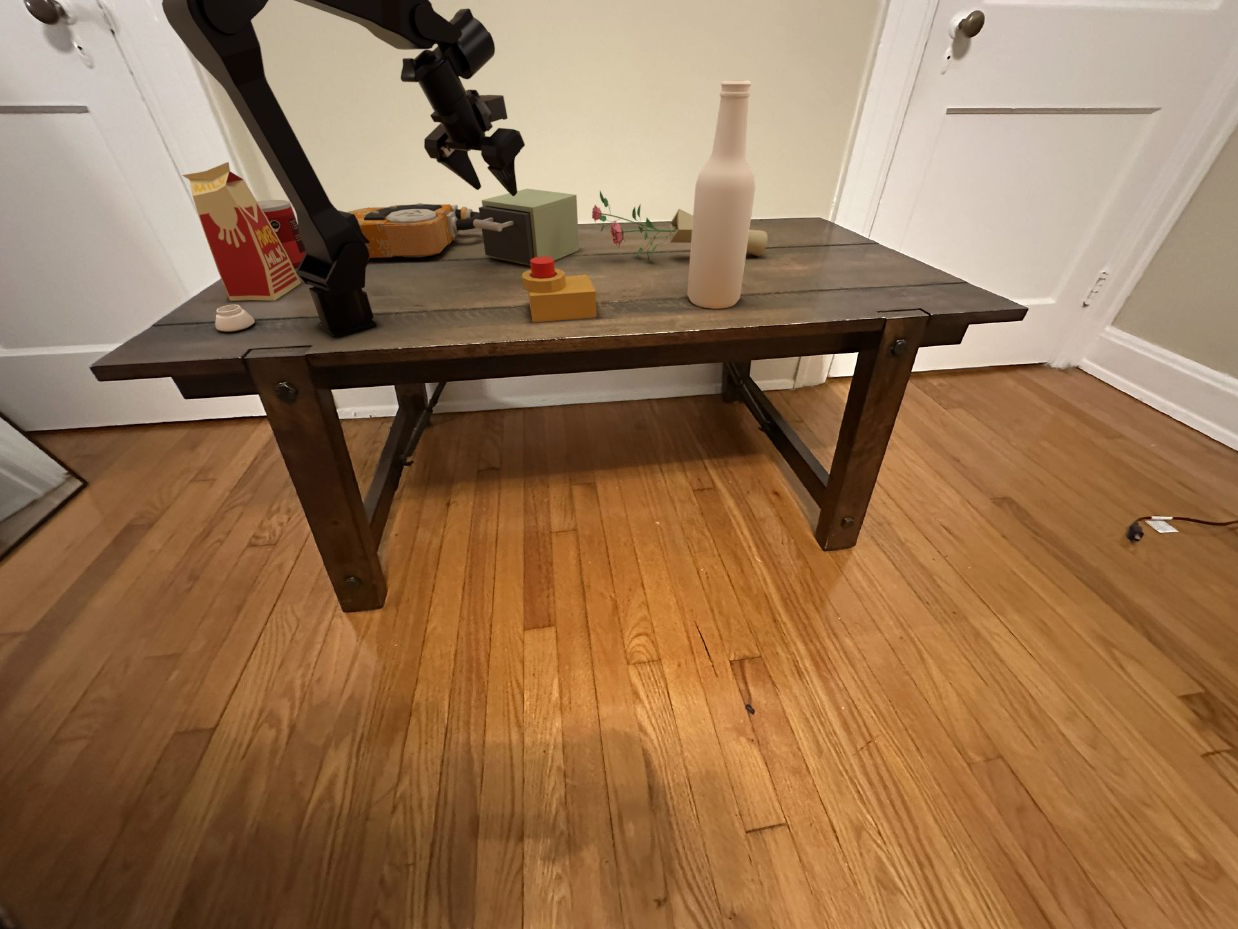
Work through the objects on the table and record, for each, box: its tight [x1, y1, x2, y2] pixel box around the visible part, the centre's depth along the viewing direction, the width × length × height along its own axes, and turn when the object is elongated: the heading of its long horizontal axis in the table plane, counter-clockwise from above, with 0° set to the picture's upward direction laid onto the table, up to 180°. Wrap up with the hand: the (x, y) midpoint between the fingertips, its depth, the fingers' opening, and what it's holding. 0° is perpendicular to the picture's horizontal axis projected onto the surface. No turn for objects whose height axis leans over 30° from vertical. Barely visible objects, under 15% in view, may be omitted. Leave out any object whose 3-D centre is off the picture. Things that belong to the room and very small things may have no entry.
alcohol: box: [686, 79, 756, 310], centre depth 80 cm, size 9×9×30 cm
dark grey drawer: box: [473, 206, 534, 264], centre depth 105 cm, size 17×12×9 cm
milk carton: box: [181, 161, 302, 302], centre depth 87 cm, size 9×9×20 cm
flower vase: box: [591, 190, 768, 262], centre depth 106 cm, size 12×12×35 cm
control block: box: [521, 268, 598, 323], centre depth 84 cm, size 11×8×6 cm
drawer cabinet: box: [481, 188, 580, 267], centre depth 108 cm, size 14×13×11 cm
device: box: [346, 202, 480, 259], centre depth 113 cm, size 23×8×30 cm
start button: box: [530, 257, 555, 279], centre depth 81 cm, size 4×4×2 cm
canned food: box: [257, 199, 306, 269], centre depth 103 cm, size 8×8×11 cm
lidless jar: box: [214, 304, 255, 333], centre depth 80 cm, size 5×3×5 cm
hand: (496, 191), depth 93 cm, fingers open, 9 cm apart
